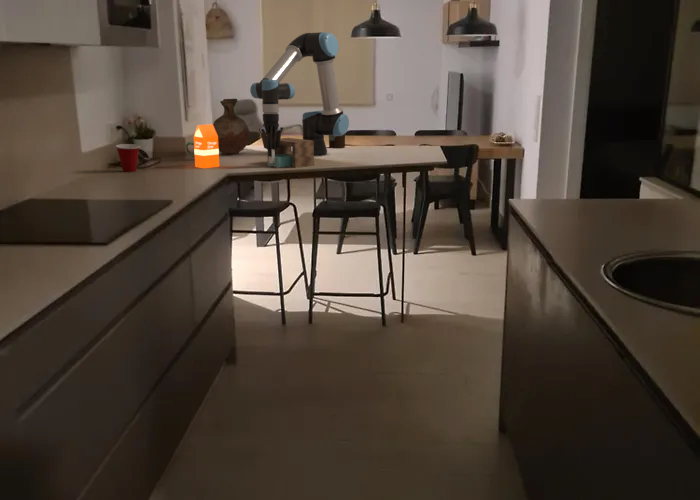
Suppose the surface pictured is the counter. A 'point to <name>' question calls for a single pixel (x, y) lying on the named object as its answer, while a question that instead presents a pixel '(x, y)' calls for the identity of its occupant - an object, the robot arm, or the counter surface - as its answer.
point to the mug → (187, 148)
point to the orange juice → (206, 147)
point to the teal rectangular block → (281, 160)
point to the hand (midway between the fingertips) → (271, 163)
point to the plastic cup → (128, 156)
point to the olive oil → (337, 141)
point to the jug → (231, 130)
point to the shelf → (297, 151)
